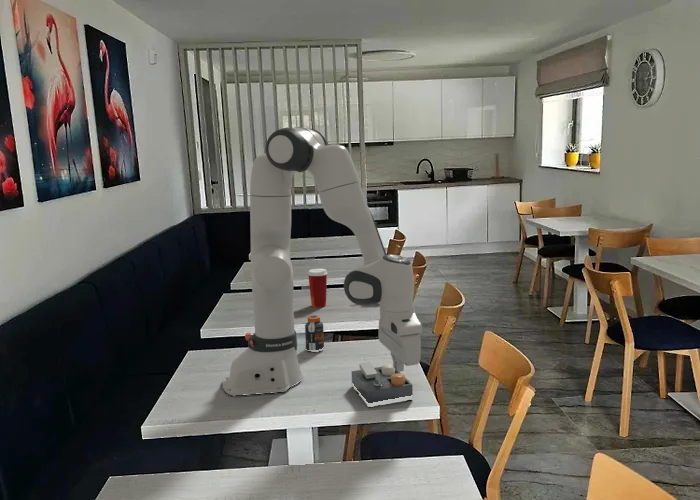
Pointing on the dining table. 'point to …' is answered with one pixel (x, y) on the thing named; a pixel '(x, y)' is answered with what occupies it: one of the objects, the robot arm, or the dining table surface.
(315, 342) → the pill bottle
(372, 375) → the rocker
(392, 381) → the button orange
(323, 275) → the coffee cup
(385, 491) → the dining table surface
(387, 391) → the console
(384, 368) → the button ivory
